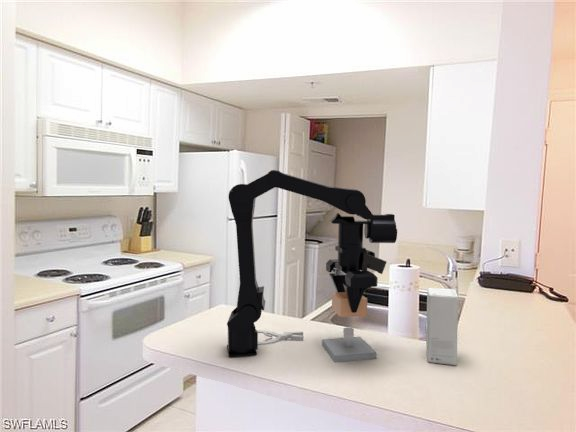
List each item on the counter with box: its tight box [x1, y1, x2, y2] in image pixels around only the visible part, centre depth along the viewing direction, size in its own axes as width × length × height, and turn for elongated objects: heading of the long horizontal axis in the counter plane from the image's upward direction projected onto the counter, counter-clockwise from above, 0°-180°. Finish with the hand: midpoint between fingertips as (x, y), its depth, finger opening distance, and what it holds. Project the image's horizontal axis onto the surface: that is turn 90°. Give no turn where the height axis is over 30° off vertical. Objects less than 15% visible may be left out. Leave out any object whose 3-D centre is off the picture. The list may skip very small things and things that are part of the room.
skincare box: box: [426, 287, 459, 366], centre depth 97 cm, size 8×7×16 cm
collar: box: [331, 292, 368, 318], centre depth 99 cm, size 6×6×4 cm
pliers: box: [256, 329, 305, 346], centre depth 109 cm, size 10×2×15 cm
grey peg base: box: [321, 327, 378, 363], centre depth 100 cm, size 10×10×6 cm
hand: (348, 308), depth 99 cm, fingers closed on collar, 6 cm apart
